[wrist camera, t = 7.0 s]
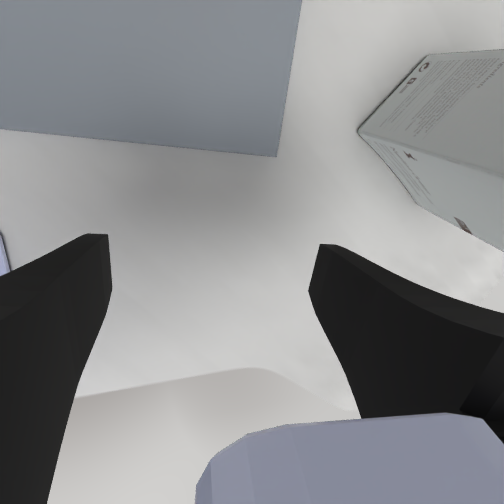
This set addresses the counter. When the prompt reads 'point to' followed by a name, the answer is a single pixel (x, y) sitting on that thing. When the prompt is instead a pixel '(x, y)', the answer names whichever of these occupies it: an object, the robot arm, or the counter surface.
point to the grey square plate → (149, 70)
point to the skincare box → (449, 139)
